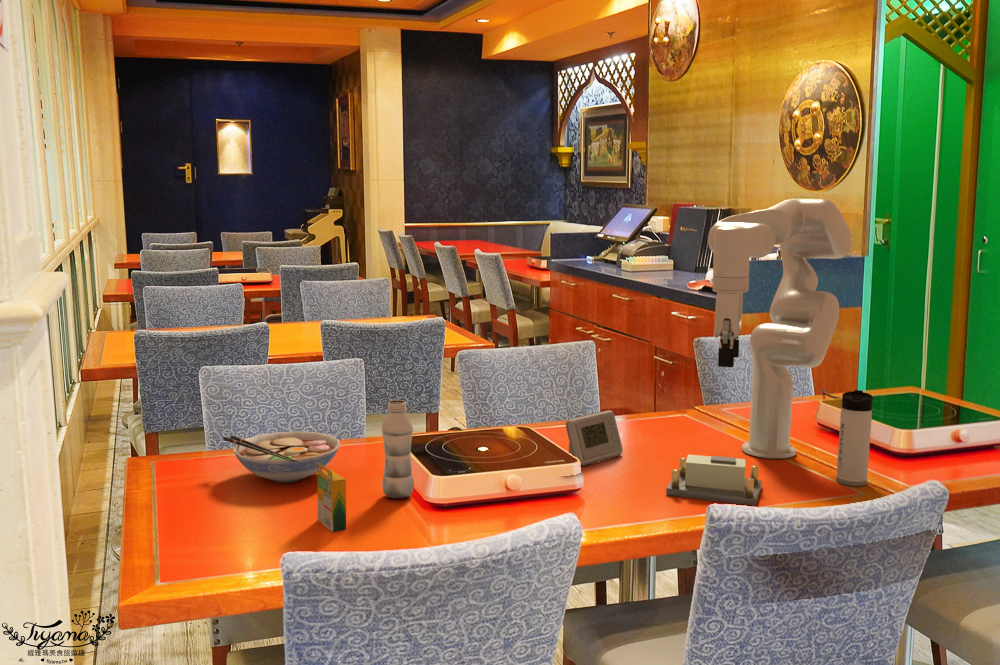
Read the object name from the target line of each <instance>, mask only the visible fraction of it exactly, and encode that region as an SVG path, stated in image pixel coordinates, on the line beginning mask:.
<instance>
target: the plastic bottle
mask: <svg viewBox="0 0 1000 665" xmlns="http://www.w3.org/2000/svg"><path fill="white" fill-rule="evenodd" d="M387 405H388V406H387V412H388V414H387V416H386V417H385V418H384V420H383V421H382V424H381V433H382V441H383V448H384V451H383V452H384V467H383V468H384V469H383V476H382V484H381V486H382V492H383V494H384V495H385V497H388V498H390V499H404V498H408V497H410V496H411V495H412V493H413V492H414V485H415V483H414V475H413V474H412V473H413V472H412V470H413V469H412V462H411V454H412V453H411V452H412V450H411V449H412V440H413V439H412V438H413V432H414V426H413V422H412V421H411V419H410V417H409V416H408V415H407V413H406V412H407V411H408V410H407V401H406V400H402V399H391V400H389V401H388V403H387Z"/></svg>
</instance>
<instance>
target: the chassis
mask: <svg viewBox="0 0 1000 665" xmlns="http://www.w3.org/2000/svg"><path fill="white" fill-rule="evenodd" d="M686 460H687V457H679V466H678V468H679V469H676V468H672V469H671V480H670V482H669V483H668V485H667V487H666V489H665V490H666V492H665V494H666V495H665V496H669V497H670V496H672V497H679V498H685V499H686V498H687V499H695V500H700V501H701V500H702V501H709V502H717V503H718V502H719V501H722V502H721V503H726V504H732V503H734V505H740V504H744V505H743V506H747V505H752V506H751V507H756V505H757V502H758V499H759V496H760V492H761V490H762V483H763V481H762V480H760V479H759V468H760V467H759V465H755V464H754V465H751V466H750V476H749V477H747V478H745V480H744V491H741V490H730V489H719V488H708V487H697V486H686V485H685V472H686ZM719 503H720V502H719Z"/></svg>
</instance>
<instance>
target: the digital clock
mask: <svg viewBox="0 0 1000 665" xmlns="http://www.w3.org/2000/svg"><path fill="white" fill-rule="evenodd" d="M616 419H617V418H616V416H615V414H614V412H613V411H612V410H603V411H598V412H593V413H589V414H584V415H581V416H577V417H574V418H571V419H569V420H567V421H566V422H565V428H566V434H567V438H568V441H569V442H568V454H569V453H571V454H572V455H573V456H575V457H577V458H578V459H579V460H580V462H581V465H582V466H581V467H584V466H590V465H589V464H591V465H593V464H592V463H594V464H596V463H595V462H597V463H599V462H598V461H601V462H603V461H602V460H604V461H607V460H606V459H608V460H610V459H609V458H611V459H613V458H615V457H617V456H620V455H622V454H623V450H624V449H623V444H622V441H621V436H620V432H619V428H618V424H617V420H616ZM612 457H613V458H612ZM587 464H588V465H587Z"/></svg>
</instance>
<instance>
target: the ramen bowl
mask: <svg viewBox="0 0 1000 665" xmlns="http://www.w3.org/2000/svg"><path fill="white" fill-rule="evenodd" d="M223 441H225V442H228V443H232V444H234V445H233V449H232V450H233V453H234V455H235V457H236V459H237V460H238V461H239V463H240V464H241V465H242V466H243V467H244V468H245V469H246V470H248V471H249V472H250V473H252V474H253V475H255V476H257V477H261V478H263V479H268V480H271V481H274V482H277V483H295V482H298V481H302V480H304V479H305V478H308V477H310V476H312V475H314V474H317V462H318V463H320V464H321V465H323V466H324V467H327V466H328V465H329V464H330V463H331V461H332V460H333V459H334V457H335V455H336V454H337V453H338V450H339V448H340V446H341V443H340V440H339V439H338V438H336V437H334V436H333V435H330V434H326V433H320V432H312V431H279V432H278V431H277V432H271V433H263V434H258V435H254V436H252V437H248V438H245V439H243V438H241V437H238V436H235V435H230V437H227V436H224V437H223Z"/></svg>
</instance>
